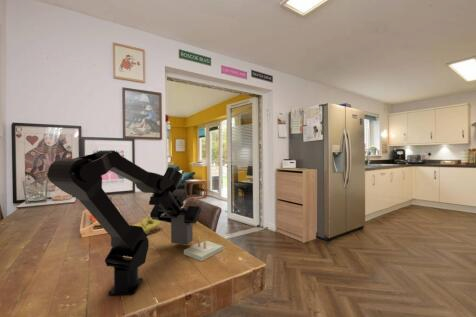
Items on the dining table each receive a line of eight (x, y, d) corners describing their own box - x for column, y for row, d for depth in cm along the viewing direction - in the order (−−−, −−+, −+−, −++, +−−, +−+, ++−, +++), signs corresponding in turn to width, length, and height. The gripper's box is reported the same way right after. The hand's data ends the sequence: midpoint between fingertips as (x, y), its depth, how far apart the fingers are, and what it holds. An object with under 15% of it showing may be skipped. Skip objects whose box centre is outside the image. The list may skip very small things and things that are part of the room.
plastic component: (124, 238, 87) (112, 224, 92) (121, 252, 89) (109, 237, 94) (165, 222, 103) (153, 210, 108) (161, 234, 106) (150, 222, 110)
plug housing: (187, 244, 81) (187, 212, 81) (171, 242, 83) (171, 211, 83) (192, 240, 85) (192, 210, 85) (177, 238, 87) (176, 209, 87)
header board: (201, 261, 72) (201, 249, 72) (183, 253, 78) (183, 242, 78) (223, 249, 81) (222, 239, 81) (205, 243, 86) (205, 233, 86)
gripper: (198, 183, 77) (211, 207, 88) (154, 182, 83) (171, 204, 93) (187, 211, 70) (202, 233, 80) (140, 207, 75) (160, 228, 86)
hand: (183, 223), depth 85 cm, fingers closed on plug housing, 7 cm apart
